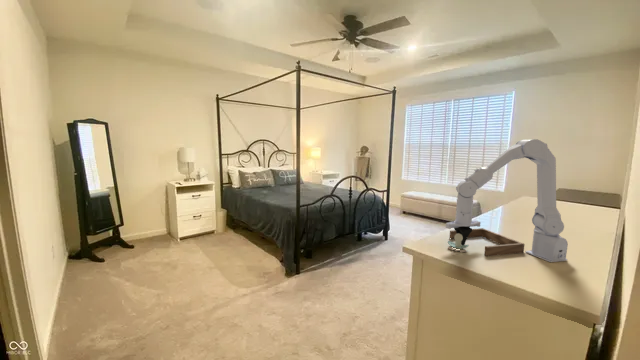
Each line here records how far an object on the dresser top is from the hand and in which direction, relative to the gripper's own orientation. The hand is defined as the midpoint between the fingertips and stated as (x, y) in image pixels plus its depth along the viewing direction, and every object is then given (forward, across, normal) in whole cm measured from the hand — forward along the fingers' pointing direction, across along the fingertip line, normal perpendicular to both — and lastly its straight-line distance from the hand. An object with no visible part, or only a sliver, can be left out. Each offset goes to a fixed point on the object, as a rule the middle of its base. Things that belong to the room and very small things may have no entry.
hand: (461, 244), depth 110 cm
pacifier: (+1, +4, +2) cm, 4 cm away
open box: (+1, -11, 0) cm, 11 cm away
